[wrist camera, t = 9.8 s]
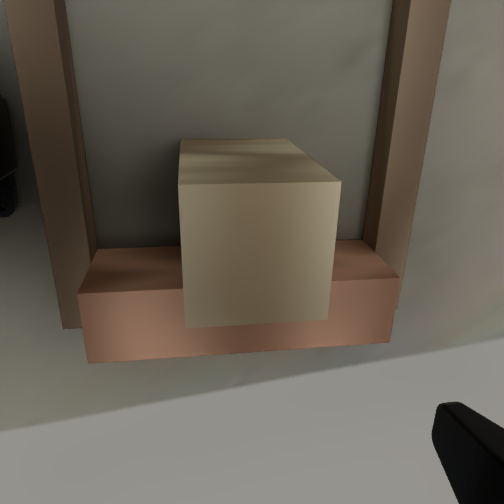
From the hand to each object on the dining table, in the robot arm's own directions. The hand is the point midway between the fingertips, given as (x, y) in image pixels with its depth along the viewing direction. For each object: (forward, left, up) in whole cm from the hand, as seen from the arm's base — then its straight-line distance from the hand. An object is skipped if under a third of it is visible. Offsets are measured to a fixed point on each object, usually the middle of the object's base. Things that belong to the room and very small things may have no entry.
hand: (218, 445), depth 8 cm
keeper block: (+2, +2, -12) cm, 12 cm away
